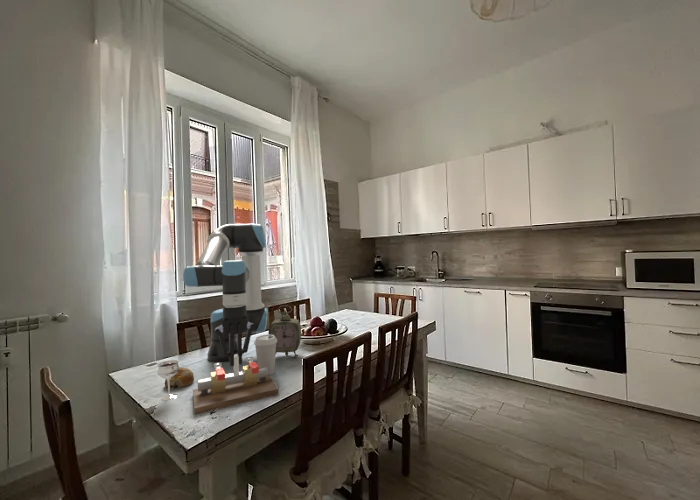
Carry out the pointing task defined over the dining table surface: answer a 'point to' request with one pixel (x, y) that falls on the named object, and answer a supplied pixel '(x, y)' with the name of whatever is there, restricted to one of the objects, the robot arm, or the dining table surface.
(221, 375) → the valve lever
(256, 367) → the valve lever
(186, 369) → the bread roll
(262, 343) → the coffee cup
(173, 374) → the wineglass
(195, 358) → the dining table surface
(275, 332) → the tabletop clock
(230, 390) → the valve board
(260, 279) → the robot arm
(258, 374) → the manifold pipe
